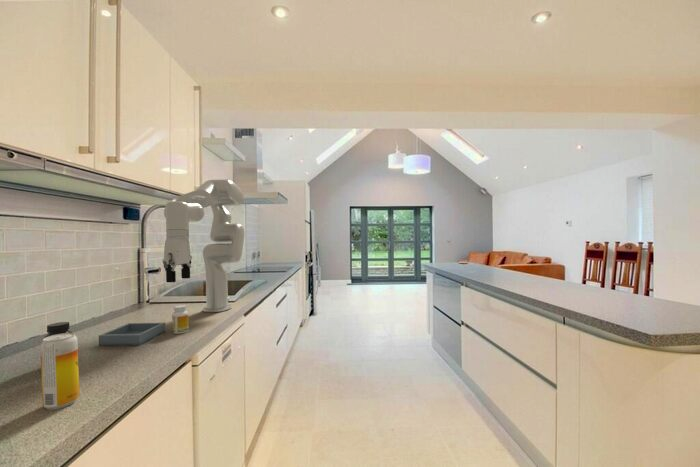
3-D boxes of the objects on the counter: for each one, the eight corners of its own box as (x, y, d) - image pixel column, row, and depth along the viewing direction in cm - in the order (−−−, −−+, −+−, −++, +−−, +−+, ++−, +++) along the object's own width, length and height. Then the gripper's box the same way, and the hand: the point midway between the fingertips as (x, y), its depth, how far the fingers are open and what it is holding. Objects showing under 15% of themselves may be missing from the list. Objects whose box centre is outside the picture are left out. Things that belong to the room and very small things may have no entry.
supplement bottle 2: (191, 329, 122) (191, 304, 122) (183, 334, 117) (182, 307, 117) (178, 329, 123) (177, 304, 123) (169, 334, 118) (168, 307, 117)
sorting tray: (129, 332, 121) (128, 323, 121) (165, 331, 120) (165, 322, 120) (98, 345, 107) (98, 335, 107) (139, 345, 106) (139, 335, 106)
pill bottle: (85, 395, 75) (83, 331, 74) (67, 409, 69) (64, 340, 68) (56, 397, 74) (54, 333, 73) (34, 412, 68) (32, 342, 67)
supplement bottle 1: (75, 365, 91) (73, 323, 91) (42, 373, 87) (40, 329, 87) (75, 358, 97) (73, 319, 96) (43, 365, 92) (42, 323, 92)
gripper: (181, 234, 128) (181, 277, 128) (153, 234, 111) (154, 284, 111) (199, 234, 128) (200, 276, 128) (174, 234, 111) (175, 283, 111)
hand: (178, 280), depth 119 cm, fingers open, 9 cm apart
